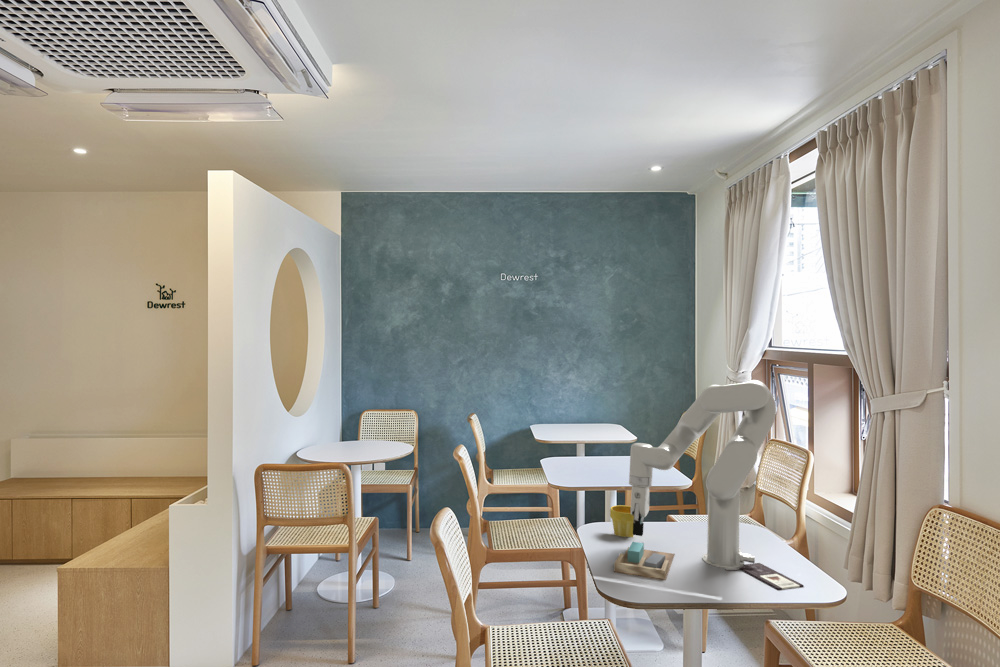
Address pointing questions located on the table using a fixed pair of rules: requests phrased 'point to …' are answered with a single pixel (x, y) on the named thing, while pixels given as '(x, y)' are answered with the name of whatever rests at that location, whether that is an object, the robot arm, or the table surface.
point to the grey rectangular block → (655, 561)
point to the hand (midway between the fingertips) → (637, 534)
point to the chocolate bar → (770, 576)
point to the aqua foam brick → (635, 552)
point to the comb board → (639, 568)
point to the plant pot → (622, 520)
